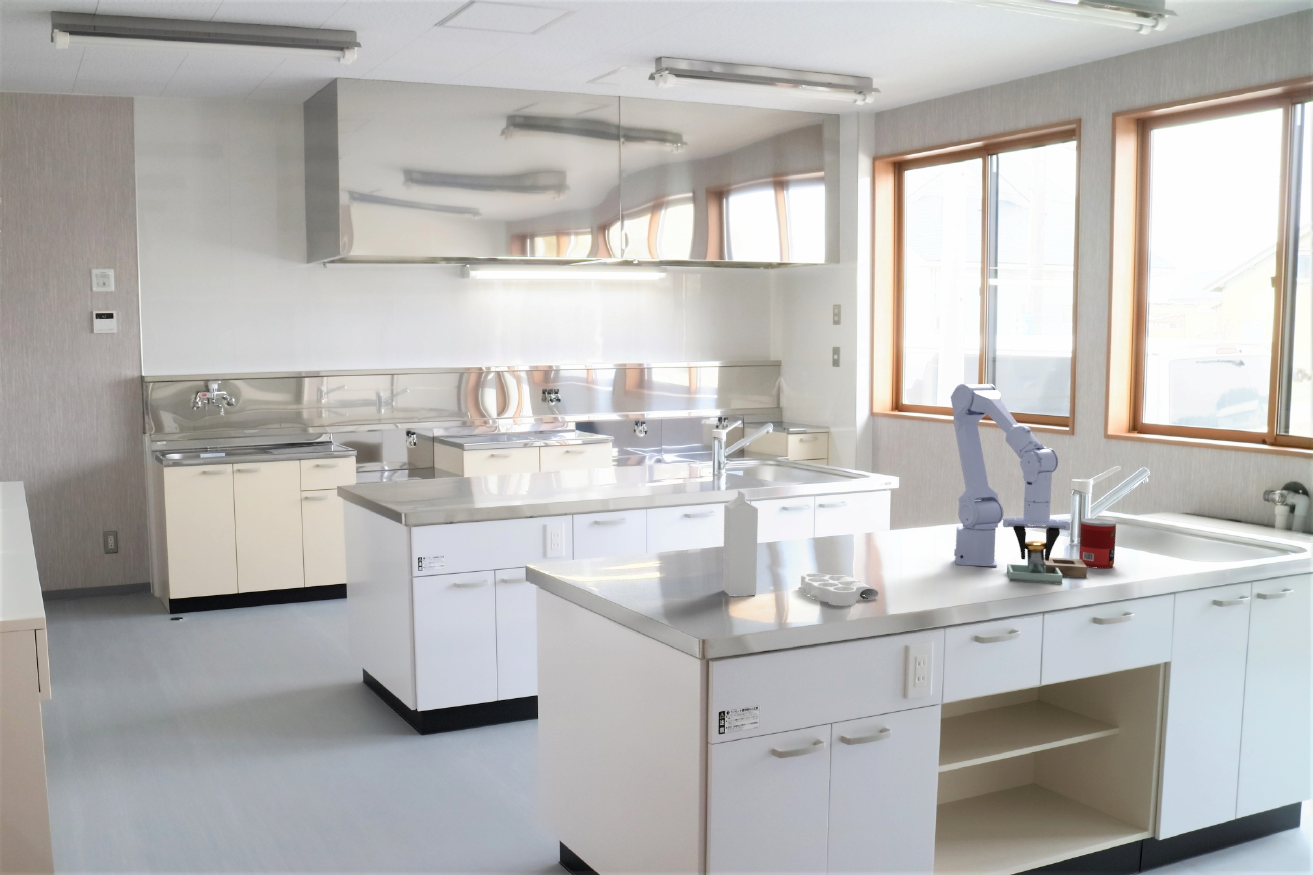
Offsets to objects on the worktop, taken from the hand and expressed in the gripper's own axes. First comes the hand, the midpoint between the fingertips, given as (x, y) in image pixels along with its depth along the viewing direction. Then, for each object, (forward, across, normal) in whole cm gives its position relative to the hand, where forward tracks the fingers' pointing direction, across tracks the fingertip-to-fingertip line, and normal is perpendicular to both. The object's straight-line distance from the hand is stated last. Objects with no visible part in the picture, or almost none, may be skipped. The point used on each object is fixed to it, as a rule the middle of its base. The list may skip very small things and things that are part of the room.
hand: (1034, 559), depth 250 cm
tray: (+4, 0, 0) cm, 4 cm away
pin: (+3, 0, +1) cm, 3 cm away
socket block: (+4, +8, +8) cm, 12 cm away
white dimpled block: (+5, -44, -30) cm, 53 cm away
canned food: (+5, +16, +20) cm, 26 cm away
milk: (+5, -64, -34) cm, 72 cm away
